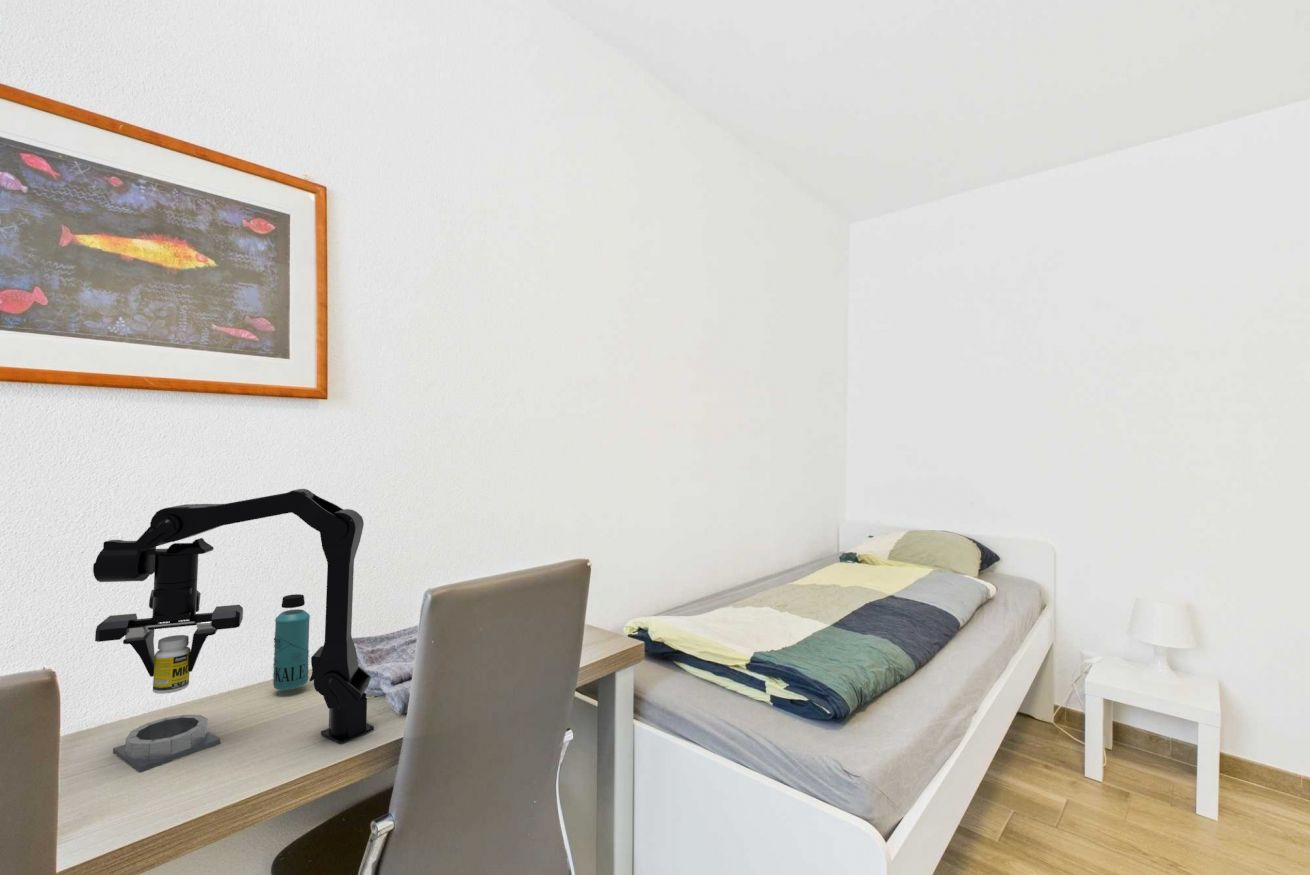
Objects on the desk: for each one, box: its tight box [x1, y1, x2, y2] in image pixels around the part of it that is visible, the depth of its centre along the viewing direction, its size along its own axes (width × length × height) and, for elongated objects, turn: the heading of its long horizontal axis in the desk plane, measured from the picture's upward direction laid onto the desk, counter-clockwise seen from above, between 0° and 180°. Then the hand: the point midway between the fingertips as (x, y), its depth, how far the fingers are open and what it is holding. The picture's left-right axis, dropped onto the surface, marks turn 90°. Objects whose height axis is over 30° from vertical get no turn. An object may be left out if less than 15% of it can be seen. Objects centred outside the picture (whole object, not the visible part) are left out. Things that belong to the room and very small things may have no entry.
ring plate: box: [112, 714, 221, 773], centre depth 100 cm, size 11×11×3 cm
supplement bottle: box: [152, 634, 191, 695], centre depth 100 cm, size 5×5×8 cm
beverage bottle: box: [272, 593, 311, 691], centre depth 124 cm, size 6×7×20 cm
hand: (171, 673), depth 100 cm, fingers closed on supplement bottle, 5 cm apart
